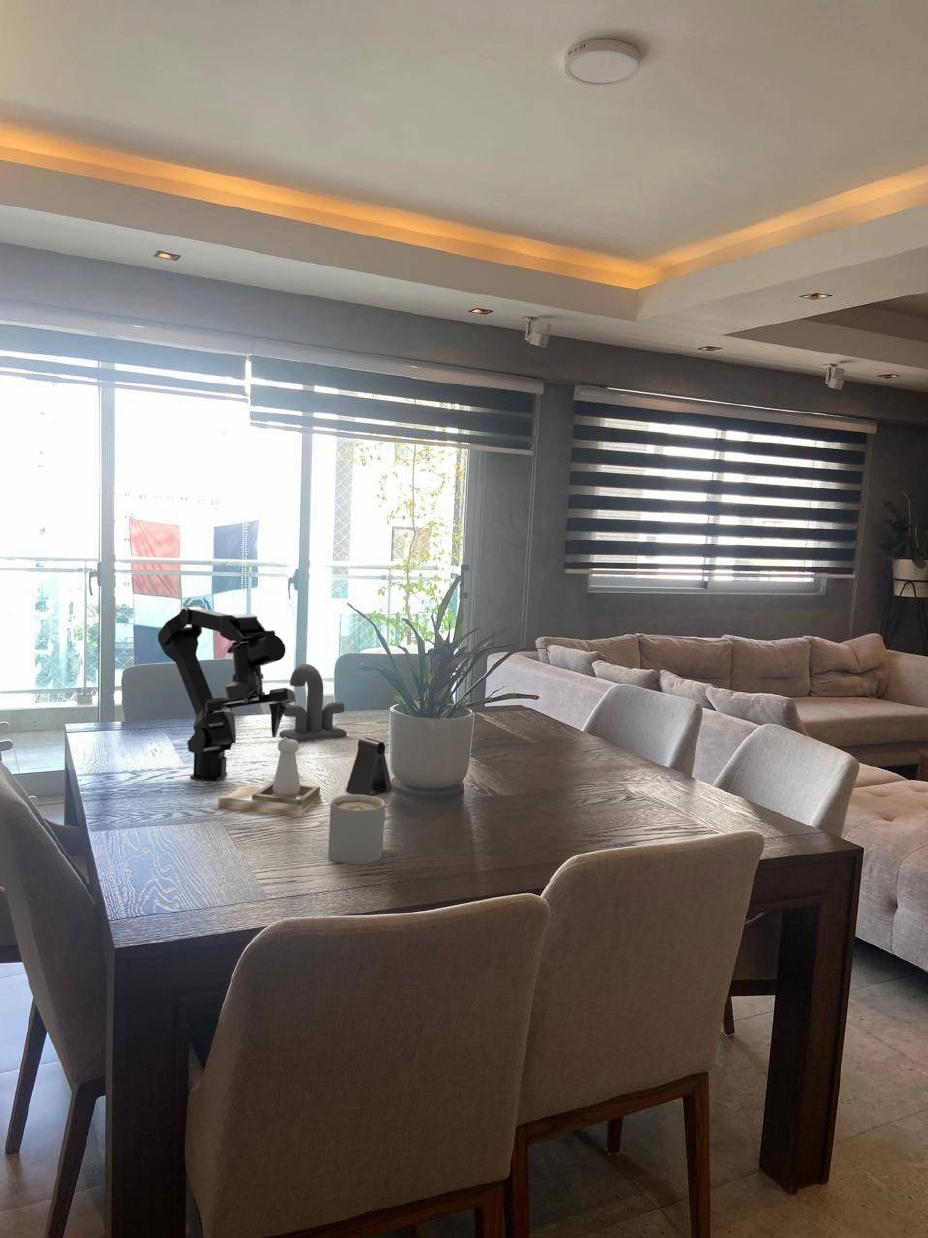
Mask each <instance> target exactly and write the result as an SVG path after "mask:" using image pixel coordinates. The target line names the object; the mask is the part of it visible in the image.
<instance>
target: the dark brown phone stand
mask: <svg viewBox="0 0 928 1238" xmlns="http://www.w3.org/2000/svg"><path fill="white" fill-rule="evenodd" d="M385 751H386V745H385V743H384V742H381V741H378V740H376V739H372V738H367V737H364V738H363V737H361V738H360V739H359V740H358V742H357V753H356V756H355V758H354V759H355V760H354V764H353V765H352V766H353V767H352V770H351V772H350V775H349V779H348V781H347V782H348V783H347V785H346V789H345V792H347V793H349V794H351V795H354V794H355V795H369V796H374V797H375V796H378V795H382V794H385V793H389V792H392V791H393V785H392V782H391V777H390V773H389V772H390V771H389V767H388V764H387V760H386V752H385Z"/></svg>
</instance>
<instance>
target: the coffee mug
mask: <svg viewBox="0 0 928 1238" xmlns="http://www.w3.org/2000/svg"><path fill="white" fill-rule="evenodd" d="M385 804H386V803H385V801H384V799H382V798H379V797H377V796H375V795H374V796H369V795H355V794H344V795H338V796H336V797H334V798H331V801H330V808H329V809H330V810H329V813H330V814H329V830H328V850H327V851H328V853H327V855H328V857H329V858H330V859H331V860H332V861H334V862H337V863H340V864H346V865H368V864H371V863H372V862H373V863H375V861H376V862H377V860H378V861H380V860H381V859H382V857H383V847H384V832H385V831H384V829H385V827H384V826H385V821H386V805H385ZM380 858H381V859H380Z"/></svg>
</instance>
